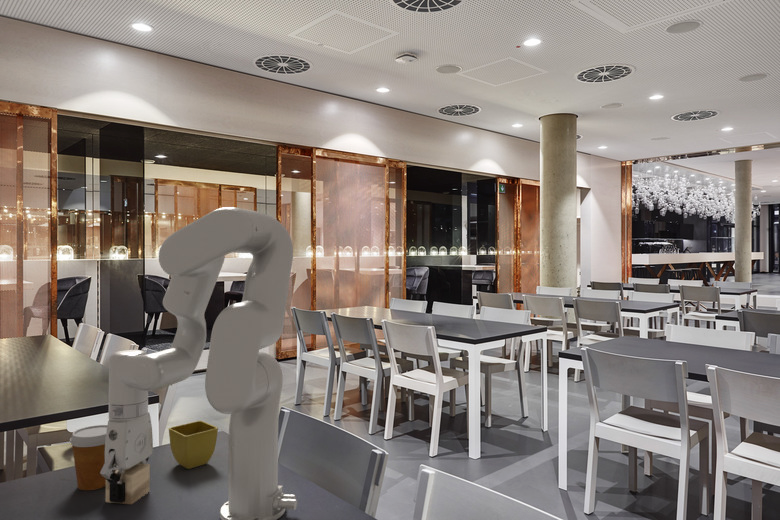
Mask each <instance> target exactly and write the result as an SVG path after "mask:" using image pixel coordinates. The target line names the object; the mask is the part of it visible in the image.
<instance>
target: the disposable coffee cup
mask: <svg viewBox="0 0 780 520" xmlns="http://www.w3.org/2000/svg"><path fill="white" fill-rule="evenodd" d="M107 425H108V424H96V425H90V426H84V427H82V428H79V429H76V430H75V431H73V432H72V435H71V437H70V438H69V442H70V444H71V446H72V447H71V448H72V454H73V455H72V456H73V460H74V468H75V469H74V470H75V475H76V482H77V483H76V484H77V488H78V489H79V490H81V491H94V490H99V489H102V488H106V479H105V477H103V476H102V475H101V474H100V472H101V470H102V468H103V466H104V464H105V439H106V431H107Z"/></svg>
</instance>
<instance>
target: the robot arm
mask: <svg viewBox="0 0 780 520" xmlns="http://www.w3.org/2000/svg"><path fill="white" fill-rule="evenodd" d="M232 253H233V254H234V253H236V254H240V253H241V254H250V255H252V260H251V263H250V265H249V267H248V268H247V272H246V276H245V279H244V290H243V295H242V299H241V302H236V303H232V304H230V305H228V306H227V307H225V308H223V310H221V312H219V314H218V316H217V317H216V319H215V321H214V323H213V326H212V330H211V335H210V342H209V350H208V356H207V357H208V358H207V363H206V364H207V365H206V370H205V372H206V373H205V380H204V381H205V382H204V387H205V388H204V389H205V391H204V392H205V395H206V399H207V401H208V404H209V405H210V406H211V407H212V408H213V410H215V411H216V412H218V413H220V414H224V415H229V422H228V423H229V424H228V492H227V494H228V497H227V498H228V501H225V502H224V504H222V506H221V507H220V511H219V517H220V519H221V520H278V519H280V518H281V517H282V516H283V515H284V514H285V512H286V510H289V511H290V510H291V511H292V510H293V511H296V509H297V506H298V500H297V498H296V494H292V493H291V494H286V493H285V492H283V485H278V484H279V483H278V481H279V479H278V478H279V477H278V476H279V417H280V415H279V413H280V402H281V395H282V390H283V389H282V388H283V379H284V378H283V372H282V370H283V369H282V368H281V365H280V363H279V362H278V361H277V359H276V358H275V357H274V356H272V354H268V353H266V352H263V351H261V352H260V350H262V349H264V348H268V347H270V346H273V345H274V344H275V343H277V342H278V341H279V339H280V338H281V337H282V334H283V331H284V328H285V327H284V326H285V319H286V311H287V304H288V298H289V297H288V295H289V287H290V286H289V285H290V278H291V273H292V266H293V261H294V260H293V259H294V245H293V240H292V237H291V235H290V233H289V231H288V230H287V228H286V227H285V226H284V225H283V223H281V222H280V221H279V220H277V219H276V218H275V217H273V216H271V215H269V214H266V213H264V212H260V211H257V210H250V209H245V208H240V207H234V206H232V207H231V206H229V207H228V206H226V207H219V208H217V209H215V210H213V211H211V212H209V213H206V215H203V216H202V217H200V218H198V219H196V220H194V221H193V222H191V223H189V224H187V225H185V226H183V227H181V228H180V229H178V230H176V231H175V232H173V233H171V234H170V235H168V236H167V238H166V239H165V240H164V241H163V242H162V244H161V246H160V248H159V251H158V263H159V265H160V267H161V269H162V271H163V272H164V273H165V274H167V275H169V276H171V278H170V281H169V283H168V287H166V288H167V289H166V291H165V294H164V296H163V299H162V306H163V308H164V309H165V310H166V311H167V312H168V313H170V314H171V315H174V316H175V317H176V320H177V329H176V332H175V335H174V338H173V341H172V343H171V346H170V348H166V349H164V350H159V351H155V352H151V353H148V352H146V351H145V350H140V349H124V350H119V351H118V350H117V351H115V352H113V353H112V354H111V355H110V356H109V359H108V421H107V424H106V425H107V431H106V439H105V464H104V466H103V468H102V470H101V472H100V474H101V475H102V476H103V477H105V479H106V480H107V482H108V483H110V502H109V503H111V502H118V503H117V504H122V503H123V502H124V501H125V482H123V479H124V475H125V471H126V470H127V469H130V468H131V467H133V466H135V465H137V464H138V463H139V464H148V461H149V459H150V456H151V455H153V453H154V443H153V442H154V441H153V440H154V438H153V426H152V419H151V414H150V411H149V392H155V391H159V390H162V389H164V388H166V387H169V386H172V385H174V384H178V383H180V382H183V381H185V380H187V379H188V378H190V376H191V375H193V373H194V372H195V370H196V369H197V366H198V365H199V362H200V361H201V360H200V359H201V357H202V354H203V352H204V349H205V346H206V341H207V322H206V319H205V314H206V313H205V312H206V310H207V307H208V304H209V302H210V300H211V296H212V294H213V291H214V289H215V286H216V283H217V281H218V278H219V276H220V273H221V271H222V268H223V266H224V262H225V259H226V255H228V254H229V255H230V254H232ZM116 470H120V471H119V476H117V475H116V474H115V472H116Z"/></svg>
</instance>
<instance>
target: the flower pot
mask: <svg viewBox="0 0 780 520" xmlns="http://www.w3.org/2000/svg"><path fill="white" fill-rule="evenodd" d="M218 431H219V428H218V427H217V426H214V425H212V424H210V423H207V422H205V421H203V420H197V421H192V422H189V423H185V424H180V425H175V426H171V427H169V428H168V437H169V444H170V450H171V452H172V455H173V457H174V459H175V461H176V462H177V464H178V465H180V466H182V467H184V468H185V469H187V470H190V469H193V468H197V467H200V466H203V465H207V464H208V463H209V461H210V460H211V458H212V456H213V455H214V452H215V449H216V446H217V440H218V439H217V437H218Z"/></svg>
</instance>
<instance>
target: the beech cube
mask: <svg viewBox="0 0 780 520" xmlns="http://www.w3.org/2000/svg"><path fill="white" fill-rule="evenodd" d="M150 466H151V464H150V463H147V464H139V463H138V464H137V465H135V466H133V467H131V468H130V469H127V470H126V471H125V475H124V479H123V482H125V501H124V502H123V503H121V504H124V505H133V504H134V503H136V502H137V501H139V500H140V499H141V497H142V496H143V497H145V496H146V495H147V494H149V493H150V492H149V491H151V490H150V489H151V488H150V486H151V485H150V483H151V481H150V480H151V476H150V473H151V470H150V469H151V467H150ZM119 471H120V470H116V472H115V474H116V475H117V476H119ZM148 492H149V493H148ZM145 494H146V495H145ZM143 497H142V498H143ZM138 499H139V500H138ZM105 503H110V504H111V503H112V504H113V503H114V504H119V503H118V502H110V483H108V482H107V480H106V486H105Z"/></svg>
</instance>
